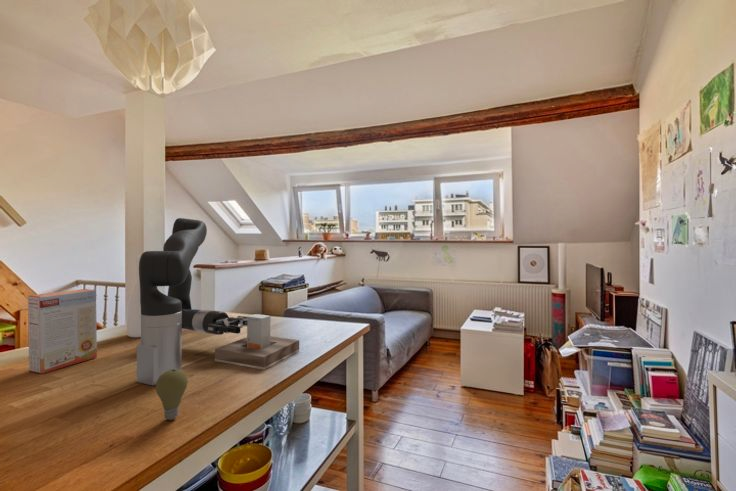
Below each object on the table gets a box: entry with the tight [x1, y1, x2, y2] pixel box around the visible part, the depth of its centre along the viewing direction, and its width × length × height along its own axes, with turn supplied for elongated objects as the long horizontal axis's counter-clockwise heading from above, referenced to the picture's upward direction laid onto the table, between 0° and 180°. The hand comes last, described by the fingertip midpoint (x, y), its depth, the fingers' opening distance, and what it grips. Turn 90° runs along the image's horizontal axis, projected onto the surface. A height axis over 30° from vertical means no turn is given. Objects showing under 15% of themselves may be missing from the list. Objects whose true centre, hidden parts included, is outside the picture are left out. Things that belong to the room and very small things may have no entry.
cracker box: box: [27, 288, 98, 375], centre depth 99 cm, size 14×6×21 cm, turn 160°
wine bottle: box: [126, 255, 141, 338], centre depth 130 cm, size 10×10×30 cm
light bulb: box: [155, 369, 188, 421], centre depth 69 cm, size 6×6×10 cm
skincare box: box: [246, 313, 272, 349], centre depth 108 cm, size 6×4×12 cm
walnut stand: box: [214, 335, 300, 371], centre depth 108 cm, size 18×18×4 cm
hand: (249, 326), depth 109 cm, fingers open, 8 cm apart
